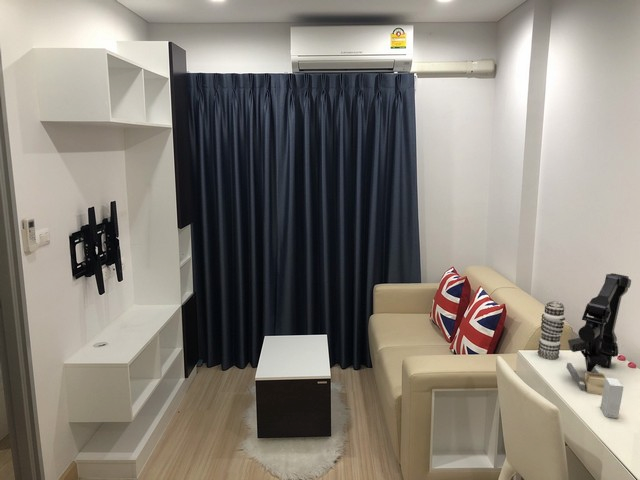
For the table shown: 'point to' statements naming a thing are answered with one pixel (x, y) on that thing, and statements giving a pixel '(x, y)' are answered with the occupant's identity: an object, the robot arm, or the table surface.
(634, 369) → the table surface
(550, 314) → the banded tower model
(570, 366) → the chute
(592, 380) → the block
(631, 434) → the table surface
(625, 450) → the table surface
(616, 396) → the skincare box
